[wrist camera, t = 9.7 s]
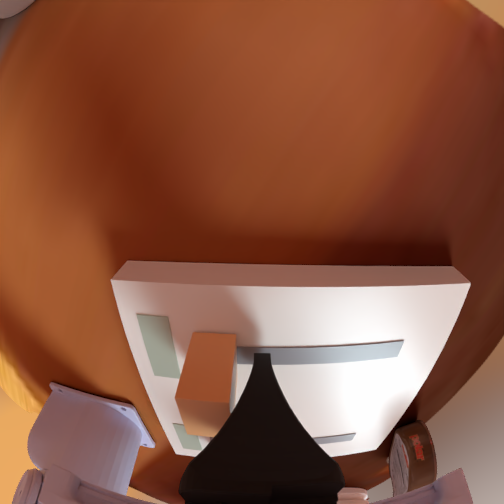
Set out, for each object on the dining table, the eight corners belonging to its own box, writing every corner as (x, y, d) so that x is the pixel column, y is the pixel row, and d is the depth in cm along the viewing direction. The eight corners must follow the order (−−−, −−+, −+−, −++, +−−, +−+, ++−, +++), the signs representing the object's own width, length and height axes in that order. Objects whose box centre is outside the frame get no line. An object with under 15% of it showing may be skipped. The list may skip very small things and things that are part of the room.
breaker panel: (179, 436, 21) (175, 454, 19) (127, 260, 13) (109, 280, 11) (371, 432, 20) (376, 450, 19) (452, 266, 13) (471, 283, 11)
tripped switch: (199, 373, 14) (187, 434, 10) (192, 332, 12) (174, 397, 9) (237, 376, 14) (232, 438, 10) (236, 334, 12) (229, 402, 9)
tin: (404, 456, 25) (417, 505, 17) (382, 464, 25) (393, 514, 18) (421, 404, 19) (449, 476, 11) (391, 416, 19) (414, 492, 12)
